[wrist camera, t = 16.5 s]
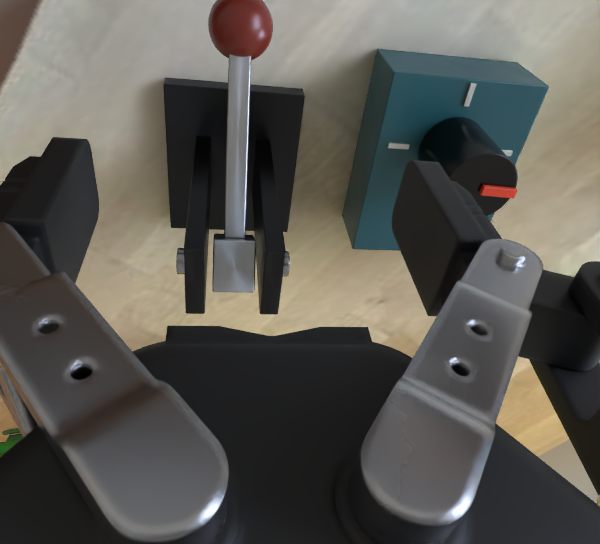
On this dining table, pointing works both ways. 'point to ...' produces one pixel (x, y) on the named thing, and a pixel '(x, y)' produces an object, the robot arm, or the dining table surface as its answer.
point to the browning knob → (471, 161)
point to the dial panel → (428, 125)
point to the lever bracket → (212, 178)
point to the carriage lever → (237, 135)
